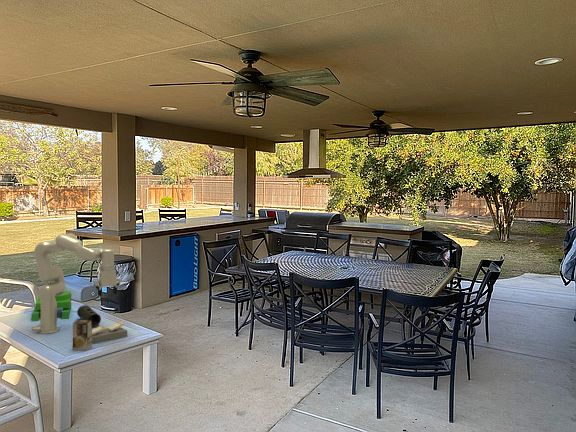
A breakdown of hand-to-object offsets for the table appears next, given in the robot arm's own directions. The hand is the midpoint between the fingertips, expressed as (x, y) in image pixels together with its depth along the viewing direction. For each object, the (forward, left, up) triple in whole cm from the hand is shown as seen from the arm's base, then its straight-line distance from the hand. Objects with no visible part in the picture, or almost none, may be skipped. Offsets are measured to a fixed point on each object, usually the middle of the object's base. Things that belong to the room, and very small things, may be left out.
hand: (107, 294), depth 279 cm
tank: (-8, +72, -28) cm, 78 cm away
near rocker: (-7, -1, -21) cm, 22 cm away
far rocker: (+5, -1, -21) cm, 22 cm away
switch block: (-1, -1, -28) cm, 28 cm away
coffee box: (-20, -10, -28) cm, 36 cm away
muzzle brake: (+4, +38, -28) cm, 47 cm away
